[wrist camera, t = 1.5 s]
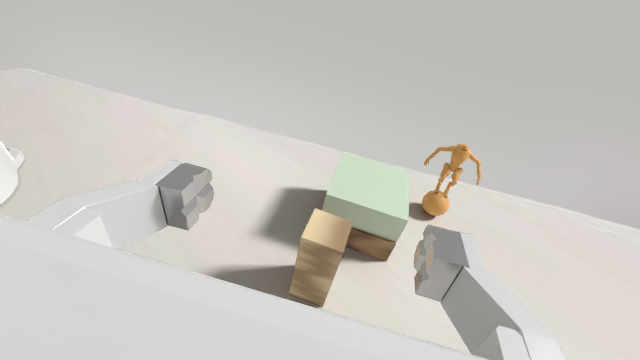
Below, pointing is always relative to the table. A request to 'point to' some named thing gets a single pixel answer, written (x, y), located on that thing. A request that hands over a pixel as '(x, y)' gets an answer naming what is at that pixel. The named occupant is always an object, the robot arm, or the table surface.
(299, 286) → the oak post
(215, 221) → the table surface
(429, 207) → the figurine
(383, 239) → the tower base
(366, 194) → the pale green square slab
